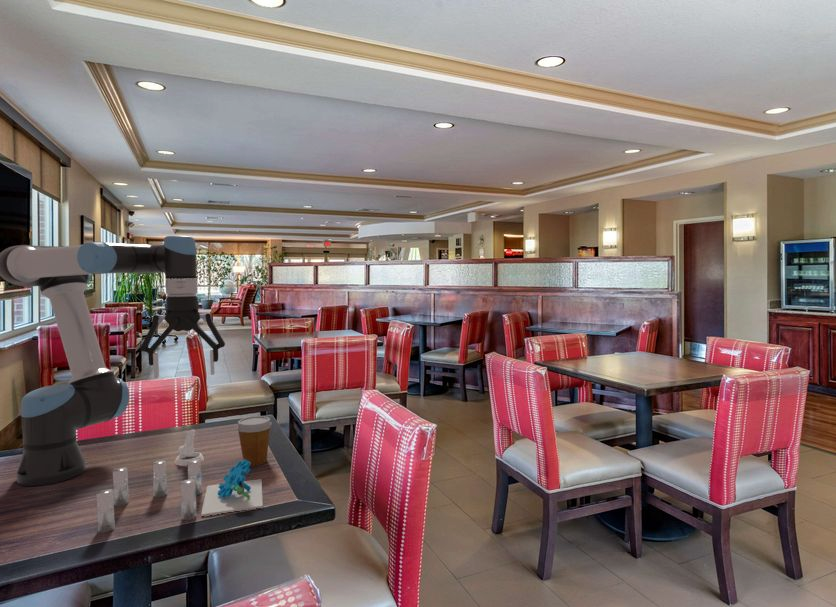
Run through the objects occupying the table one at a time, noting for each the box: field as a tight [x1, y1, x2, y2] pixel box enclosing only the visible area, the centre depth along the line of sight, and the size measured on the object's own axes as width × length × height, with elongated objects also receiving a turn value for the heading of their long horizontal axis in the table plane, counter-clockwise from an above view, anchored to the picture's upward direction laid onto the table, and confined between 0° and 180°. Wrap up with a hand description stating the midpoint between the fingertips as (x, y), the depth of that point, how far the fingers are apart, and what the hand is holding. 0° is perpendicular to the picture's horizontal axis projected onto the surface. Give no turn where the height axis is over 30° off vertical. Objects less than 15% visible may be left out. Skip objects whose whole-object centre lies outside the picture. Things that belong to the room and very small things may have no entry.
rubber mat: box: [200, 478, 264, 517], centre depth 123 cm, size 13×16×1 cm
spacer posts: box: [96, 459, 203, 534], centre depth 118 cm, size 19×18×8 cm
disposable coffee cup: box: [236, 415, 272, 467], centre depth 146 cm, size 10×10×12 cm
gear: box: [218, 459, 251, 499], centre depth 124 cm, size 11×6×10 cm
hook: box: [174, 429, 205, 467], centre depth 146 cm, size 8×12×7 cm
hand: (185, 375), depth 136 cm, fingers open, 13 cm apart
